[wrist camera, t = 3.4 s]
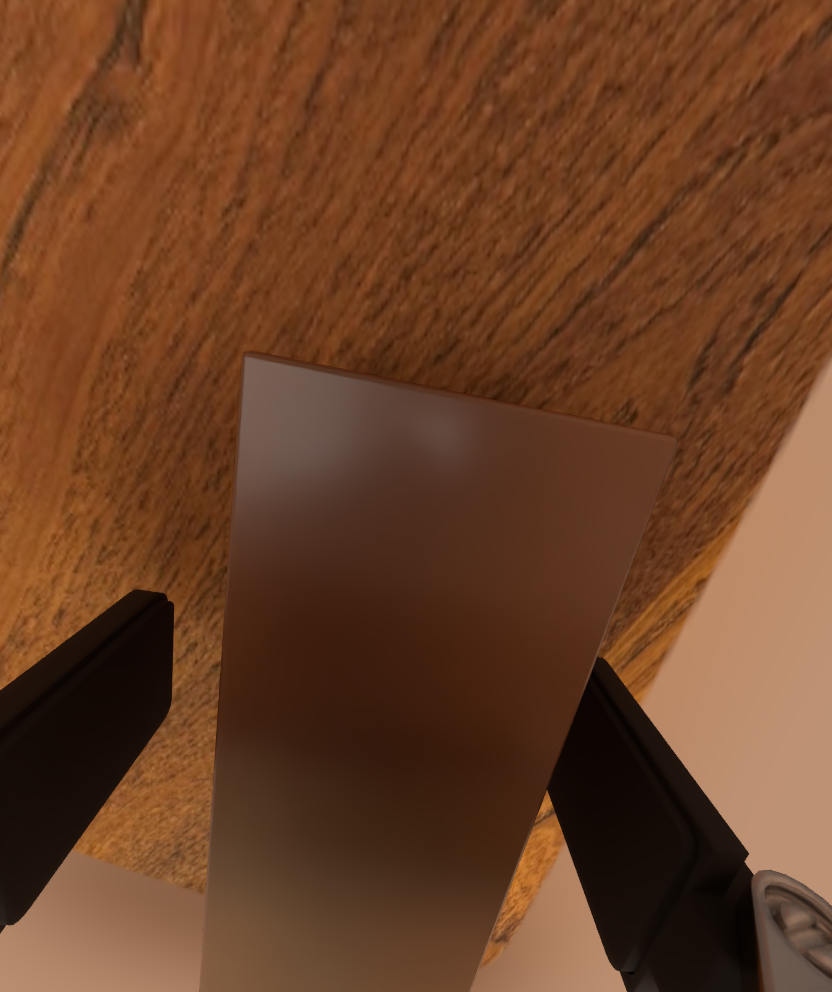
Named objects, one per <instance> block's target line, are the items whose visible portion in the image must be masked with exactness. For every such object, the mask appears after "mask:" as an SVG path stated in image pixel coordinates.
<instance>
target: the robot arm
mask: <svg viewBox="0 0 832 992" xmlns="http://www.w3.org/2000/svg"><path fill="white" fill-rule="evenodd" d="M173 634H174V604H173V602H171V601H168V599H167V596H166V595H165V594H164V593H159V592H152V591H145V590H133V591H131V592H130V593H128V594H127V595H126V596H124V597H123V598H122V599H120V600H119V601H118V602H116V603H115V604H114V605H113V606H111V607H110V608H109V609H107V610H106V611H105V612H103V613H102V614H101V615H99V616H98V617H97V618H95V619H94V620H93V621H91V622H90V623H89V624H87V625H86V626H85V627H83V628H82V629H81V630H79V631H78V632H77V633H76V634H74V635H73V636H72V637H70V638H69V639H68V640H66V641H65V642H64V643H62V644H61V645H60V646H58V647H57V648H56V649H54V650H53V651H52V652H50V653H49V654H48V655H46V656H45V657H44V658H43V659H41V660H40V661H39V662H37V663H36V664H35V665H33V666H32V667H31V668H29V669H28V670H27V671H25V672H24V673H23V674H21V675H20V676H19V677H17V678H16V679H15V680H13V681H12V682H11V683H10V684H8V685H7V686H6V687H4V688H3V689H2V690H0V933H1V932H2V930H3V929H4V928H5V926H6V925H14V924H15V923H16V922H18V921H19V920H20V919H21V918H22V917H23V916H24V915H25V914H26V912H27V911H28V910H29V908H30V907H31V906H32V904H33V903H34V901H35V900H36V899H37V897H38V896H39V894H40V893H41V892H42V890H43V889H44V888H45V886H46V885H47V883H48V882H49V880H50V879H51V877H52V876H53V875H54V874H55V872H56V871H57V869H58V867H60V865H61V864H62V862H63V861H64V860H65V858H66V857H67V855H68V854H69V852H70V851H71V850H72V848H73V847H74V845H75V844H76V843H77V841H78V840H79V838H80V837H81V836H82V834H83V833H84V831H85V830H86V829H87V827H88V826H89V824H90V823H91V822H92V820H93V819H94V817H95V816H96V815H97V813H98V812H99V810H100V809H101V808H102V806H103V805H104V803H105V802H106V801H107V799H108V798H109V796H110V795H111V794H112V792H113V791H114V789H115V788H116V787H117V785H118V784H119V782H120V781H121V780H122V778H123V777H124V775H125V774H126V773H127V771H128V770H129V768H130V767H131V766H132V764H133V763H134V761H135V760H136V759H137V757H138V756H139V754H140V753H141V752H142V750H143V749H144V747H145V746H146V745H147V743H148V742H149V740H150V739H151V738H152V736H153V735H154V733H155V732H156V731H157V729H158V728H159V726H160V725H161V724H162V722H163V721H164V719H165V718H166V716H167V714H168V712H169V709H170V706H171V701H172V671H173ZM547 790H548V793H549V796H550V799H551V801H552V804H553V807H554V810H555V813H556V815H557V818H558V821H559V824H560V827H561V829H562V832H563V835H564V838H565V840H566V843H567V846H568V849H569V852H570V854H571V857H572V860H573V863H574V866H575V868H576V871H577V874H578V877H579V880H580V882H581V885H582V888H583V890H584V894H585V896H586V899H587V902H588V905H589V907H590V910H591V913H592V916H593V919H594V921H595V924H596V927H597V930H598V933H599V935H600V938H601V941H602V944H603V946H604V949H605V952H606V955H607V957H608V959H609V961H610V963H611V965H612V966H613V968H615V969H616V970H617V971H620V974H621V976H622V979H623V982H624V985H625V987H626V990H627V992H832V906H831V905H830V904H829V903H828V902H827V901H826V900H824V899H823V898H822V897H820V896H819V895H818V894H816V893H815V892H814V891H812V890H811V889H809V888H808V887H807V886H805V885H804V884H802V883H800V882H798V881H797V880H795V879H793V878H791V877H789V876H787V875H785V874H782V873H779V872H775V871H772V870H763V871H759V872H757V873H756V874H755V875H753V873H752V872H751V871H750V869H749V868H748V867H747V865H746V864H745V862H744V861H745V860H746V858H747V856H748V855H749V853H748V851H747V850H746V849H745V847H744V846H743V845H742V843H741V842H740V840H739V839H738V838H737V837H736V835H735V834H734V832H733V831H732V830H731V828H730V827H729V826H728V824H727V823H726V822H725V820H724V819H723V818H722V816H721V815H720V814H719V812H718V811H717V809H716V808H715V807H714V805H713V804H712V803H711V801H710V800H709V799H708V797H707V796H706V795H705V793H704V792H703V791H702V789H701V788H700V786H699V785H698V784H697V782H696V781H695V780H694V778H693V777H692V776H691V775H690V773H689V772H688V770H687V769H686V768H685V767H684V765H683V764H682V762H681V761H680V759H679V758H678V757H677V755H676V754H675V753H674V751H673V750H672V749H671V747H670V746H669V745H668V744H667V742H666V741H665V739H664V738H663V737H662V735H661V734H660V732H659V731H658V730H657V728H656V727H655V726H654V724H653V723H652V722H651V720H650V719H649V718H648V716H647V715H646V714H645V712H644V711H643V710H642V708H641V707H640V705H639V704H638V703H637V701H636V700H635V699H634V697H633V696H632V695H631V693H630V692H629V691H628V689H627V688H626V687H625V685H624V684H623V682H622V681H621V680H620V678H619V677H618V676H617V674H616V673H615V672H614V670H613V669H612V668H611V666H610V665H609V664H608V662H607V661H606V660H605V659H603V658H600V657H597V658H596V661H595V663H594V666H593V669H592V671H591V674H590V677H589V679H588V682H587V685H586V687H585V690H584V693H583V695H582V698H581V701H580V703H579V706H578V709H577V711H576V714H575V716H574V719H573V722H572V724H571V727H570V730H569V732H568V735H567V738H566V740H565V743H564V746H563V748H562V751H561V754H560V756H559V759H558V762H557V764H556V767H555V769H554V772H553V775H552V777H551V780H550V783H549V785H548V788H547Z"/></svg>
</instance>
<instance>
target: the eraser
mask: <svg viewBox="0 0 832 992" xmlns="http://www.w3.org/2000/svg"><path fill="white" fill-rule="evenodd" d="M676 446H677V439H676V438H674V437H673V436H672V435H667V434H662V433H658V432H653V431H648V430H643V429H638V428H633V427H628V426H623V425H618V424H613V423H608V422H603V421H598V420H593V419H588V418H583V417H578V416H573V415H568V414H563V413H558V412H553V411H548V410H543V409H538V408H534V407H529V406H524V405H519V404H514V403H509V402H504V401H499V400H494V399H489V398H484V397H479V396H474V395H469V394H464V393H459V392H454V391H449V390H444V389H439V388H434V387H429V386H424V385H419V384H414V383H409V382H405V381H400V380H395V379H390V378H385V377H380V376H375V375H370V374H365V373H360V372H355V371H350V370H345V369H340V368H335V367H330V366H325V365H320V364H315V363H310V362H305V361H300V360H295V359H290V358H285V357H280V356H276V355H271V354H266V353H261V352H256V351H251V350H249V351H245V352H243V355H242V357H241V372H240V387H239V402H238V417H237V432H236V447H235V462H234V477H233V492H232V507H231V522H230V537H229V552H228V567H227V582H226V597H225V612H224V627H223V642H222V657H221V672H220V687H219V702H218V717H217V732H216V747H215V762H214V777H213V792H212V807H211V822H210V837H209V852H208V867H207V882H206V897H205V912H204V928H203V942H202V943H203V944H202V958H201V973H200V989H199V992H471V989H472V987H473V984H474V982H475V979H476V976H477V973H478V971H479V968H480V966H481V963H482V960H483V958H484V955H485V952H486V950H487V947H488V944H489V942H490V939H491V936H492V934H493V931H494V929H495V926H496V923H497V921H498V918H499V915H500V913H501V910H502V907H503V905H504V902H505V899H506V897H507V894H508V891H509V889H510V886H511V883H512V881H513V878H514V875H515V873H516V870H517V868H518V865H519V862H520V860H521V857H522V854H523V852H524V849H525V846H526V844H527V841H528V838H529V836H530V833H531V830H532V828H533V825H534V822H535V820H536V817H537V815H538V812H539V809H540V807H541V804H542V801H543V799H544V796H545V793H546V791H547V788H548V785H549V783H550V780H551V777H552V775H553V772H554V769H555V767H556V764H557V762H558V759H559V756H560V754H561V751H562V748H563V746H564V743H565V740H566V738H567V735H568V732H569V730H570V727H571V724H572V722H573V719H574V716H575V714H576V711H577V709H578V706H579V703H580V701H581V698H582V695H583V693H584V690H585V687H586V685H587V682H588V679H589V677H590V674H591V671H592V669H593V666H594V663H595V661H596V658H597V655H598V653H599V650H600V648H601V645H602V642H603V640H604V637H605V634H606V632H607V629H608V626H609V624H610V621H611V618H612V616H613V613H614V610H615V608H616V605H617V602H618V600H619V597H620V595H621V592H622V589H623V587H624V584H625V581H626V579H627V576H628V573H629V571H630V568H631V565H632V563H633V560H634V557H635V555H636V552H637V549H638V547H639V544H640V542H641V539H642V536H643V534H644V531H645V528H646V526H647V523H648V520H649V518H650V515H651V512H652V510H653V507H654V504H655V502H656V499H657V496H658V494H659V491H660V488H661V486H662V483H663V481H664V478H665V475H666V473H667V470H668V467H669V465H670V462H671V459H672V457H673V454H674V451H675V449H676Z"/></svg>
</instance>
